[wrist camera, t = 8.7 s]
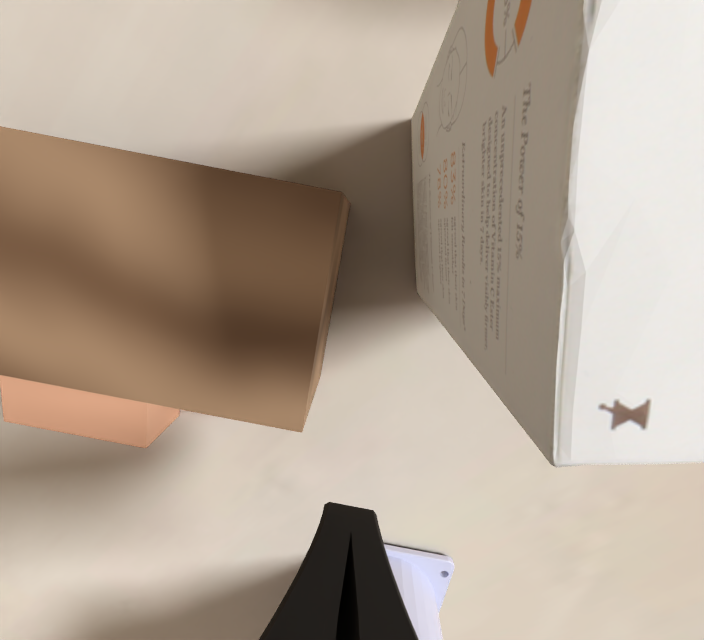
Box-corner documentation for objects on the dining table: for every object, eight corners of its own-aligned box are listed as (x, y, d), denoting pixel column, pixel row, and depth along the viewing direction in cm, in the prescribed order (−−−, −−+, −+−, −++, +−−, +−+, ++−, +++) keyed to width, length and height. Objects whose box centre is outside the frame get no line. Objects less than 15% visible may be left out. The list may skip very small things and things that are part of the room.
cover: (179, 415, 19) (146, 448, 17) (58, 392, 19) (3, 421, 17) (187, 277, 17) (150, 287, 14) (51, 251, 17) (-13, 256, 14)
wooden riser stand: (320, 376, 18) (301, 432, 13) (-83, 299, 18) (-252, 326, 13) (350, 203, 16) (341, 191, 11) (-112, 114, 16) (-332, 62, 11)
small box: (546, 286, 17) (1095, 468, 4) (414, 295, 17) (543, 484, 4) (559, 98, 15) (1755, -715, 2) (409, 113, 15) (618, -483, 2)
